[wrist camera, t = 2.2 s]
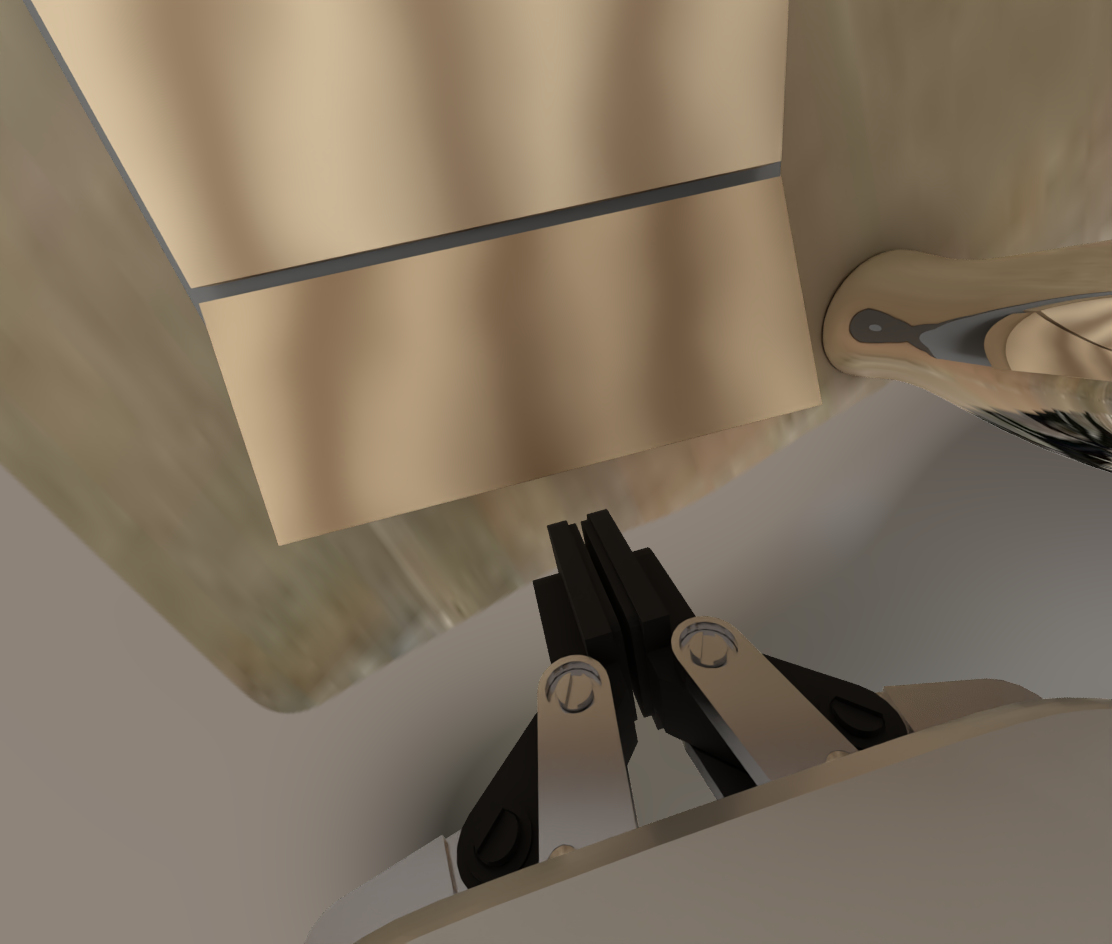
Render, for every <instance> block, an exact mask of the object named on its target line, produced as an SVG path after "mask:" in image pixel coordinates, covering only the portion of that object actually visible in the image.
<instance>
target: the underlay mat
mask: <svg viewBox="0 0 1112 944" xmlns="http://www.w3.org/2000/svg"><path fill="white" fill-rule="evenodd" d="M23 2H24V3H25V5H26V7H27V9H28V10H29V12H30V14H31V16H32V18H33V19H34V21H35V23H36V25H37V26H38V28H39V30H40V32H41V34H42V35H43V37H44V39H45V41H46V43H47V44H48V46H49V48H50V50H51V51H52V53H53V55H54V57H55V59H56V60H57V62H58V64H59V66H60V67H61V69H62V71H63V73H64V75H65V76H66V78H67V80H68V82H69V83H70V85H71V87H72V89H73V91H74V92H75V94H76V96H77V98H78V99H79V101H80V103H81V105H82V107H83V108H84V110H85V112H86V114H87V116H88V117H89V119H90V121H91V123H92V124H93V126H94V128H95V130H96V132H97V133H98V135H99V137H100V139H101V140H102V142H103V144H104V146H105V148H106V149H107V151H108V153H109V155H110V156H111V158H112V160H113V162H114V164H115V165H116V167H117V169H118V171H119V172H120V174H121V176H122V178H123V180H124V181H125V183H126V185H127V187H128V189H129V190H130V192H131V194H132V196H133V197H134V199H135V201H136V203H137V205H138V206H139V208H140V210H141V212H142V213H143V215H144V217H145V219H146V221H147V222H148V224H149V226H150V228H151V229H152V231H153V233H154V235H155V237H156V238H157V240H158V242H159V244H160V245H161V247H162V249H163V251H164V253H165V254H166V256H167V258H168V260H169V261H170V263H171V265H172V267H173V269H174V270H175V272H176V274H177V276H178V278H179V279H180V281H181V283H182V285H183V286H184V288H185V290H186V292H187V294H188V295H189V297H190V299H191V301H192V302H193V304H194V306H195V308H196V310H197V311H198V313H199V315H200V317H201V318H202V320H203V322H204V324H205V321H204V318H203V315H202V312H201V309H200V306H199V303H203V302H208V301H212V300H217V299H221V298H226V297H231V296H235V295H240V294H244V293H249V292H253V291H258V290H262V289H267V288H272V287H276V286H281V285H285V284H290V283H294V282H299V281H304V280H308V279H313V278H317V277H322V276H326V275H331V274H336V273H340V272H345V271H349V270H354V269H358V268H363V267H368V266H372V265H377V264H381V263H386V262H390V261H395V260H400V259H404V258H409V257H413V256H418V255H422V254H427V253H432V252H436V251H441V250H445V249H450V248H454V247H459V246H464V245H468V244H473V243H477V242H482V241H486V240H491V239H496V238H500V237H505V236H509V235H514V234H518V233H523V232H528V231H532V230H537V229H541V228H546V227H550V226H555V225H560V224H564V223H569V222H573V221H578V220H582V219H587V218H592V217H596V216H601V215H605V214H610V213H614V212H619V211H624V210H628V209H633V208H637V207H642V206H646V205H651V204H656V203H660V202H665V201H669V200H674V199H678V198H683V197H688V196H692V195H697V194H701V193H706V192H710V191H715V190H720V189H724V188H729V187H733V186H738V185H742V184H747V183H752V182H756V181H761V180H765V179H770V178H774V177H779V176H780V167H781V161H779V162H776V163H773V164H769V165H766V166H763V167H759V168H755V169H750V170H746V171H741V172H737V173H732V174H727V175H723V176H718V177H713V178H709V179H704V180H700V181H695V182H690V183H686V184H681V185H677V186H672V187H667V188H663V189H658V190H653V191H649V192H644V193H640V194H635V195H630V196H626V197H621V198H616V199H612V200H607V201H603V202H598V203H593V204H589V205H584V206H580V207H575V208H570V209H566V210H561V211H556V212H552V213H547V214H543V215H538V216H533V217H529V218H524V219H519V220H515V221H510V222H506V223H501V224H496V225H492V226H487V227H483V228H478V229H473V230H469V231H464V232H459V233H455V234H450V235H446V236H441V237H436V238H432V239H427V240H422V241H418V242H413V243H409V244H404V245H399V246H395V247H390V248H386V249H381V250H376V251H372V252H367V253H362V254H358V255H353V256H349V257H344V258H339V259H335V260H330V261H325V262H321V263H316V264H312V265H307V266H302V267H298V268H293V269H289V270H284V271H279V272H275V273H270V274H265V275H261V276H256V277H252V278H247V279H242V280H238V281H233V282H228V283H224V284H219V285H215V286H207V287H199V288H191V287H190V286H189V284H188V282H187V280H186V278H185V277H184V275H183V273H182V271H181V269H180V268H179V266H178V264H177V262H176V260H175V259H174V257H173V255H172V253H171V251H170V250H169V248H168V246H167V244H166V242H165V240H164V239H163V237H162V235H161V233H160V231H159V230H158V228H157V226H156V224H155V222H154V221H153V219H152V217H151V215H150V213H149V212H148V210H147V208H146V206H145V204H144V203H143V201H142V199H141V197H140V195H139V194H138V192H137V190H136V188H135V186H134V185H133V183H132V181H131V179H130V177H129V176H128V174H127V172H126V170H125V168H124V167H123V165H122V163H121V161H120V159H119V158H118V156H117V154H116V152H115V150H114V149H113V147H112V145H111V143H110V141H109V140H108V138H107V136H106V134H105V132H104V131H103V129H102V127H101V125H100V123H99V122H98V120H97V118H96V116H95V114H94V113H93V111H92V109H91V107H90V105H89V104H88V102H87V100H86V98H85V96H84V95H83V93H82V91H81V89H80V87H79V86H78V84H77V82H76V80H75V78H74V77H73V75H72V73H71V71H70V69H69V68H68V66H67V64H66V62H65V60H64V59H63V57H62V55H61V53H60V51H59V50H58V48H57V46H56V44H55V42H54V41H53V39H52V37H51V35H50V33H49V31H48V30H47V28H46V26H45V24H44V22H43V21H42V19H41V17H40V15H39V13H38V12H37V10H36V8H35V6H34V4H33V3H32V1H31V0H23ZM205 326H206V324H205Z"/></svg>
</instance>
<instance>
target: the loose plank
mask: <svg viewBox="0 0 1112 944" xmlns="http://www.w3.org/2000/svg"><path fill="white" fill-rule="evenodd" d="M199 306H200V309H201V312H202V315H203V318H204V321H205V324H206V327H207V330H208V333H209V336H210V339H211V342H212V345H213V348H214V351H215V354H216V357H217V360H218V363H219V366H220V369H221V372H222V375H223V378H224V381H225V384H226V387H227V390H228V393H229V396H230V399H231V402H232V405H233V408H234V411H235V414H236V417H237V421H238V424H239V427H240V430H241V433H242V436H243V439H244V442H245V445H246V448H247V451H248V454H249V457H250V460H251V463H252V466H253V469H254V472H255V475H256V478H257V481H258V484H259V487H260V490H261V493H262V496H263V499H264V502H265V505H266V508H267V511H268V514H269V517H270V520H271V523H272V526H273V529H274V532H275V535H276V538H277V541H278V545H279V546H280V545H284V544H288V543H292V542H296V541H299V540H303V539H307V538H311V537H315V536H319V535H323V534H326V533H330V532H334V531H338V530H342V529H346V528H349V527H353V526H357V525H361V524H365V523H369V522H372V521H376V520H380V519H384V518H388V517H392V516H396V515H399V514H403V513H407V512H411V511H415V510H419V509H422V508H426V507H430V506H434V505H438V504H442V503H446V502H449V501H453V500H457V499H461V498H465V497H469V496H472V495H476V494H480V493H484V492H488V491H492V490H495V489H499V488H503V487H507V486H511V485H515V484H519V483H522V482H526V481H530V480H534V479H538V478H542V477H545V476H549V475H553V474H557V473H561V472H565V471H568V470H572V469H576V468H580V467H584V466H588V465H592V464H595V463H599V462H603V461H607V460H611V459H615V458H618V457H622V456H626V455H630V454H634V453H638V452H641V451H645V450H649V449H653V448H657V447H661V446H665V445H668V444H672V443H676V442H680V441H684V440H688V439H691V438H695V437H699V436H703V435H707V434H711V433H714V432H718V431H722V430H726V429H730V428H734V427H738V426H741V425H745V424H749V423H753V422H757V421H761V420H764V419H768V418H772V417H776V416H780V415H784V414H788V413H791V412H795V411H799V410H803V409H807V408H811V407H814V406H818V405H822V401H821V395H820V390H819V384H818V379H817V373H816V367H815V362H814V356H813V351H812V345H811V339H810V334H809V328H808V323H807V317H806V312H805V306H804V300H803V295H802V289H801V284H800V278H799V272H798V267H797V261H796V256H795V250H794V245H793V239H792V233H791V228H790V222H789V217H788V211H787V205H786V200H785V194H784V189H783V183H782V178H781V176H779V177H774V178H770V179H765V180H761V181H756V182H752V183H747V184H742V185H738V186H733V187H729V188H724V189H720V190H715V191H710V192H706V193H701V194H697V195H692V196H688V197H683V198H678V199H674V200H669V201H665V202H660V203H656V204H651V205H646V206H642V207H637V208H633V209H628V210H624V211H619V212H614V213H610V214H605V215H601V216H596V217H592V218H587V219H582V220H578V221H573V222H569V223H564V224H560V225H555V226H550V227H546V228H541V229H537V230H532V231H528V232H523V233H518V234H514V235H509V236H505V237H500V238H496V239H491V240H486V241H482V242H477V243H473V244H468V245H464V246H459V247H454V248H450V249H445V250H441V251H436V252H432V253H427V254H422V255H418V256H413V257H409V258H404V259H400V260H395V261H390V262H386V263H381V264H377V265H372V266H368V267H363V268H358V269H354V270H349V271H345V272H340V273H336V274H331V275H326V276H322V277H317V278H313V279H308V280H304V281H299V282H294V283H290V284H285V285H281V286H276V287H272V288H267V289H262V290H258V291H253V292H249V293H244V294H240V295H235V296H231V297H226V298H221V299H217V300H212V301H208V302H203V303H199Z"/></svg>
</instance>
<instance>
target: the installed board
mask: <svg viewBox="0 0 1112 944" xmlns="http://www.w3.org/2000/svg"><path fill="white" fill-rule="evenodd" d="M31 1H32V3H33V4H34V6H35V8H36V10H37V12H38V13H39V15H40V17H41V19H42V21H43V22H44V24H45V26H46V28H47V30H48V31H49V33H50V35H51V37H52V39H53V41H54V42H55V44H56V46H57V48H58V50H59V51H60V53H61V55H62V57H63V59H64V60H65V62H66V64H67V66H68V68H69V69H70V71H71V73H72V75H73V77H74V78H75V80H76V82H77V84H78V86H79V87H80V89H81V91H82V93H83V95H84V96H85V98H86V100H87V102H88V104H89V105H90V107H91V109H92V111H93V113H94V114H95V116H96V118H97V120H98V122H99V123H100V125H101V127H102V129H103V131H104V132H105V134H106V136H107V138H108V140H109V141H110V143H111V145H112V147H113V149H114V150H115V152H116V154H117V156H118V158H119V159H120V161H121V163H122V165H123V167H124V168H125V170H126V172H127V174H128V176H129V177H130V179H131V181H132V183H133V185H134V186H135V188H136V190H137V192H138V194H139V195H140V197H141V199H142V201H143V203H144V204H145V206H146V208H147V210H148V212H149V213H150V215H151V217H152V219H153V221H154V222H155V224H156V226H157V228H158V230H159V231H160V233H161V235H162V237H163V239H164V240H165V242H166V244H167V246H168V248H169V250H170V251H171V253H172V255H173V257H174V259H175V260H176V262H177V264H178V266H179V268H180V269H181V271H182V273H183V275H184V277H185V278H186V280H187V282H188V284H189V286H190V287H191V288H199V287H207V286H215V285H219V284H224V283H228V282H233V281H238V280H242V279H247V278H252V277H256V276H261V275H265V274H270V273H275V272H279V271H284V270H289V269H293V268H298V267H302V266H307V265H312V264H316V263H321V262H325V261H330V260H335V259H339V258H344V257H349V256H353V255H358V254H362V253H367V252H372V251H376V250H381V249H386V248H390V247H395V246H399V245H404V244H409V243H413V242H418V241H422V240H427V239H432V238H436V237H441V236H446V235H450V234H455V233H459V232H464V231H469V230H473V229H478V228H483V227H487V226H492V225H496V224H501V223H506V222H510V221H515V220H519V219H524V218H529V217H533V216H538V215H543V214H547V213H552V212H556V211H561V210H566V209H570V208H575V207H580V206H584V205H589V204H593V203H598V202H603V201H607V200H612V199H616V198H621V197H626V196H630V195H635V194H640V193H644V192H649V191H653V190H658V189H663V188H667V187H672V186H677V185H681V184H686V183H690V182H695V181H700V180H704V179H709V178H713V177H718V176H723V175H727V174H732V173H737V172H741V171H746V170H750V169H755V168H759V167H763V166H766V165H769V164H773V163H776V162H779V161H781V157H782V136H783V115H784V94H785V73H786V52H787V31H788V10H789V0H31Z"/></svg>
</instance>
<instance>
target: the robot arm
mask: <svg viewBox="0 0 1112 944" xmlns="http://www.w3.org/2000/svg"><path fill="white" fill-rule="evenodd" d="M581 526H582V531H583V536H584V541H585V544H584V542H583V539H582V537H581V535H580V532H579V530H578V528H577V526H576V524H575V523H574V524H571V525H568V523H567V521H566V520H565V521H562V522H558V523H555V524H551V525H547V528H548V532H549V536H550V540H551V544H552V548H553V552H554V556H555V560H556V564H557V568H558V572H559V573H558V574H554V575H551V576H547V577H544V578H540V579H537V580H534V581H533V585H534V590H535V594H536V599H537V603H538V608H539V612H540V616H541V621H542V625H543V630H544V635H545V639H546V644H547V648H548V653H549V657H550V661H551V665H550V666H549V667H548V668H547V669H546V670H545V671H544V673H543V675H542V677H541V679H540V681H539V685H538V692H537V700H538V701H537V703H538V704H537V708H538V712H537V713H536V715H535V716H534V718H533V719H532V721H531V722H530V724H529V725H528V727H527V728H526V730H525V731H524V733H523V734H522V736H521V737H520V739H519V740H518V742H517V743H516V745H515V747H514V748H513V749H512V751H511V752H510V754H509V755H508V757H507V758H506V760H505V761H504V763H503V765H502V766H501V767H500V769H499V771H498V772H497V773H496V775H495V777H494V778H493V779H492V781H491V783H490V784H489V786H488V787H487V789H486V790H485V792H484V793H483V795H482V796H481V798H480V799H479V801H478V802H477V804H476V805H475V807H474V808H473V810H472V811H471V813H470V814H469V816H468V818H467V820H466V822H465V824H464V826H463V828H462V829H461V830H460V831H458V832H456V833H455V834H453V835H452V836H450V837H448V838H447V839H445V838H444V837H443V835H441V836H440V837H438V838H436V839H435V840H433V841H432V842H430V843H429V844H427V845H425V846H424V847H422V848H420V849H419V850H417V851H416V852H414V853H413V854H411V855H409V856H408V857H406V858H404V859H403V860H401V861H400V862H398V863H397V864H395V865H393V866H392V867H390V868H388V869H387V870H385V871H384V872H382V873H381V874H379V875H378V876H376V877H374V878H372V879H371V880H369V881H368V882H366V883H364V884H363V885H362V886H360V887H358V888H356V889H355V890H354V891H352V892H350V893H348V894H347V895H345V896H344V897H342V898H340V899H339V900H337V901H336V902H335V903H334V904H333V905H332V906H330V907H329V908H328V909H327V910H326V911H325V912H323V914H322V915H321V916H320V918H319V919H318V920H317V922H316V923H315V925H314V926H313V927H312V929H311V930H310V932H309V934H308V936H307V938H306V940H305V943H304V944H1112V699H1102V698H1070V697H1069V698H1068V697H1064V698H1050V699H1042V698H1041V697H1040V696H1039V695H1037V694H1035V693H1033V692H1031V691H1029V690H1028V689H1026V688H1024V687H1022V686H1020V685H1016V684H1013V683H1010V682H1007V681H1004V680H997V679H974V680H961V681H950V682H949V681H948V682H935V683H922V684H910V685H897V686H884V687H883V691H882V692H878V693H874V692H873V691H870V690H868V689H866V688H863V687H861V686H859V685H856V684H853V683H850V682H847V681H844V680H841V679H838V678H835V677H832V676H828V675H826V674H822V673H819V672H816V671H813V670H810V669H807V668H804V667H801V666H798V665H795V664H792V663H789V662H786V661H783V660H780V659H777V658H774V657H770V656H768V655H765V654H761V653H760V652H759V651H758V650H757V649H756V648H755V647H754V646H753V645H752V644H751V643H750V642H749V641H748V640H747V639H746V638H745V637H744V636H743V635H742V634H741V633H740V632H739V631H738V630H737V629H736V628H735V627H734V626H732V625H731V624H729V623H728V622H726V621H723V620H721V619H719V618H714V617H709V616H702V617H696V616H695V615H694V613H693V612H692V610H691V609H690V607H689V606H688V604H687V603H686V601H685V600H684V598H683V597H682V595H681V594H680V592H679V591H678V589H677V588H676V586H675V585H674V583H673V582H672V580H671V579H670V577H669V575H668V574H667V573H666V571H665V570H664V568H663V567H662V565H661V563H660V562H659V560H658V559H657V557H656V556H655V555H654V553H653V552H652V550H651V549H650V548H648V547H647V548H644V549H641V550H637V551H634V552H632V551H631V549H630V547H629V546H628V544H627V542H626V540H625V539H624V537H623V535H622V534H621V532H620V530H619V529H618V527H617V525H616V524H615V522H614V520H613V519H612V517H611V515H610V513H609V512H608V510H607V509H605V510H601V511H597V512H594V513H590V514H587V520H585V521H581ZM632 690H633V691H632ZM633 692H634V695H635V698H636V700H637V702H638V705H639V707H640V710H641V712H642V715H643V716H644V717H648V716H651V715H652V717H653V720H654V722H655V724H656V727H657V729H658V730H659V729H662V728H664V729H665V731H666V733H668V734H670V735H672V736H674V737H676V738H678V739H681V741H682V744H683V746H684V748H685V750H686V752H687V754H688V755H689V757H690V759H691V760H692V762H693V763H694V765H695V766H696V768H697V770H698V771H699V773H700V774H701V776H702V778H703V779H704V781H705V782H706V784H707V786H708V787H709V789H710V790H711V792H712V793H713V795H714V797H715V798H716V801H713V802H711V803H708V804H705V805H703V806H699V807H697V808H693V809H691V810H688V811H685V812H682V813H679V814H676V815H673V816H670V817H668V818H665V819H662V820H659V821H656V822H653V823H650V824H648V825H645V826H642V827H639V826H638V821H637V815H636V809H635V804H634V799H633V793H632V788H631V782H630V777H629V771H628V766H627V765H628V762H629V760H630V758H631V756H632V754H633V751H634V749H635V747H636V745H637V742H638V740H637V734H636V730H635V723H634V721H636V720H637V714H636V708H635V702H634V697H633Z"/></svg>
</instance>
